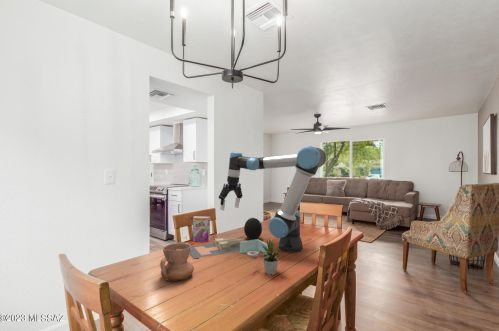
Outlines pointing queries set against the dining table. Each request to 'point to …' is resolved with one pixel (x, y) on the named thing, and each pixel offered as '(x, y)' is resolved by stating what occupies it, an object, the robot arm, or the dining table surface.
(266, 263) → the house plant
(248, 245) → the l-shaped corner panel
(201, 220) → the candy bar box
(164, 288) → the dining table surface
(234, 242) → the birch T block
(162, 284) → the dining table surface
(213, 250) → the board
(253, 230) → the decorative egg
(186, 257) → the ceramic jug
